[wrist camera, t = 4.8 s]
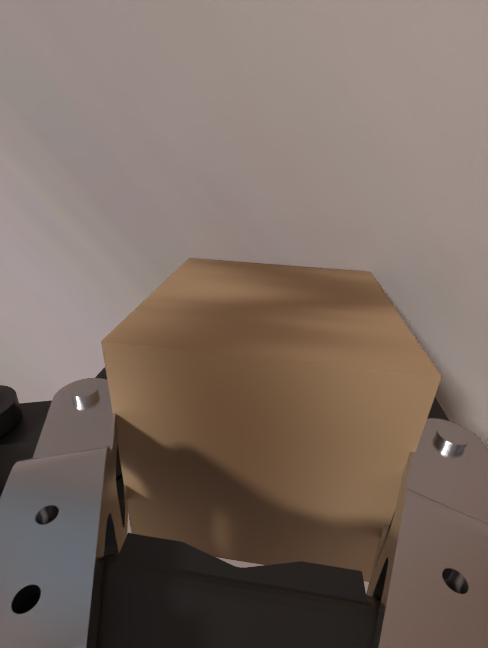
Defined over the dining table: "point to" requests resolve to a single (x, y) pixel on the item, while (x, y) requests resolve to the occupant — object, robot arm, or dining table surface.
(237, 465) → the walnut block
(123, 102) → the dining table surface
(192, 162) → the dining table surface
